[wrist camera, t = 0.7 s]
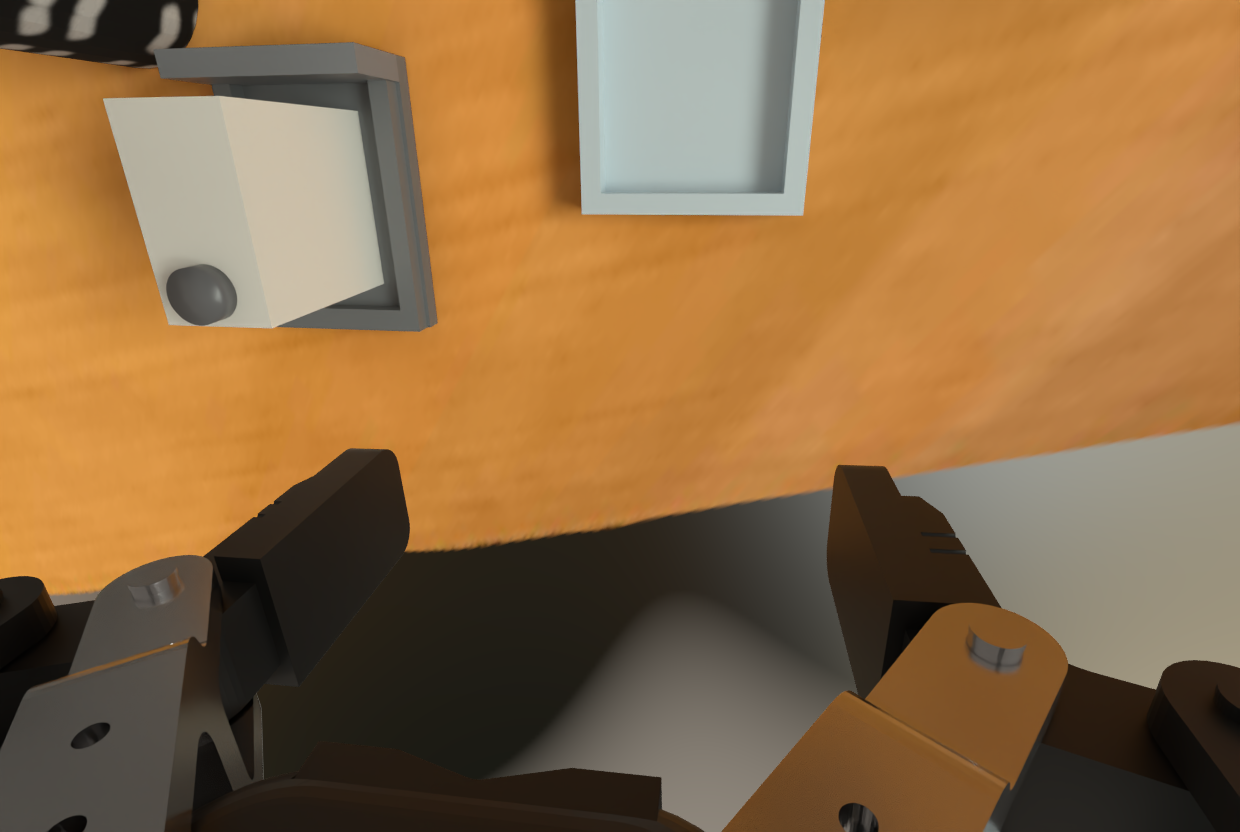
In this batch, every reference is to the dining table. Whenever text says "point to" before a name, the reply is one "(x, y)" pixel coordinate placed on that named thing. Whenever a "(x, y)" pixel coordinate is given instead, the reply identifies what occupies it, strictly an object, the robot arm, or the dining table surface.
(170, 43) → the white-spotted black cylinder
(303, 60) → the bay
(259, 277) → the white block with knob
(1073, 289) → the dining table surface
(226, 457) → the dining table surface
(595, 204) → the tray
